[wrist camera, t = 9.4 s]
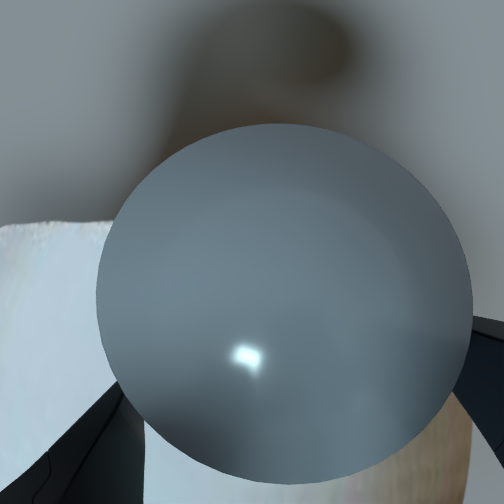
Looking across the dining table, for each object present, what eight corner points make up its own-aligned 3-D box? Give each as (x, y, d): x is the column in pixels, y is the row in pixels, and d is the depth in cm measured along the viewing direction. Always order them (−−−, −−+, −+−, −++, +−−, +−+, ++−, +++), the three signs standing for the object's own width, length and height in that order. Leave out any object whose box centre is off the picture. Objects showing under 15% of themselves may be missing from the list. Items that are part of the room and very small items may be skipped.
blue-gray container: (345, 360, 16) (509, 280, 5) (254, 437, 14) (276, 555, 2) (269, 278, 19) (302, 94, 7) (179, 345, 17) (49, 236, 5)
